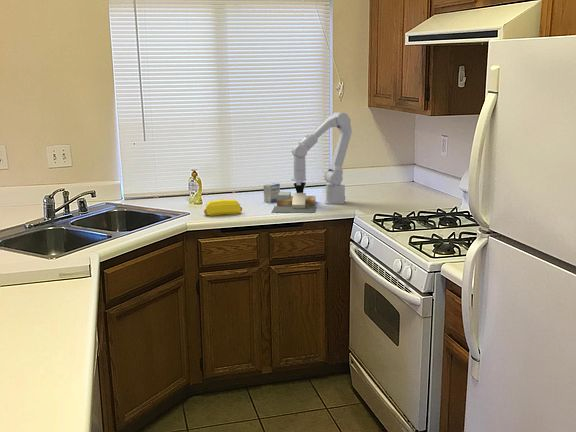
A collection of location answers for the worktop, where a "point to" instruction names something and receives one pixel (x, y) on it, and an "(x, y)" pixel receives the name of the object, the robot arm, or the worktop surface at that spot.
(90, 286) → the worktop surface
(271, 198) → the medicine box
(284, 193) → the slate card
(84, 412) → the worktop surface
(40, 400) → the worktop surface
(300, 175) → the robot arm
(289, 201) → the deck
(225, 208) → the banana
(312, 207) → the mat
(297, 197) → the ivory card
